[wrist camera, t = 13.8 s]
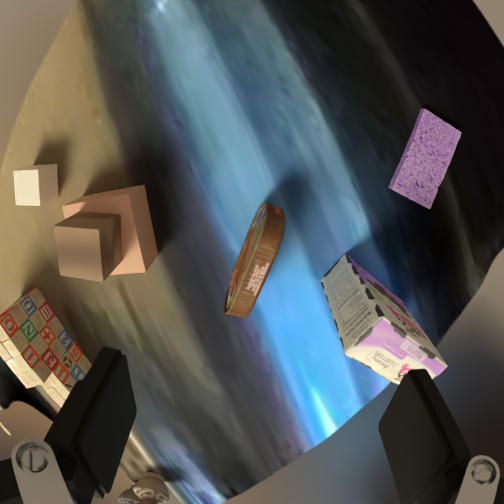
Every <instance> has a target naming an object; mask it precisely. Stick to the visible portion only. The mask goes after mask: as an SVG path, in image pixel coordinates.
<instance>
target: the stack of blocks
mask: <svg viewBox="0 0 504 504" xmlns="http://www.w3.org/2000/svg"><path fill="white" fill-rule="evenodd" d="M0 356H1V357H2V359H3V360H4V361H5V362H6V363H7V365H8V366H9V367H10V369H11V370H12V371H13V372H14V373H15V374H16V375H17V377H18V378H19V379H20V381H21V382H22V383H23V384H24V385H25V386H26V388H30V387H34V386H36V385H40V384H41V386H42V387H43V388H44V389H45V390H46V392H47V393H48V394H49V395H50V396H51V397H52V398H53V399H54V401H56V403H57V404H58V405H59V406H60V407H62V406H63V404H64V402H65V400H66V399H67V397H68V395H69V393H70V392H71V390H72V388H73V386H74V385H75V383H76V382H77V381H78V380H83V379H84V378H85V376H86V374H87V373H88V371H89V369H90V367H91V366H92V364H91V363H90V362H89V361H88V359H87V358H86V357H85V356H84V354H83V353H82V352H81V350H80V349H79V348H78V346H77V345H76V343H75V342H74V341H73V340H72V338H71V337H70V336H69V334H68V333H67V332H66V330H65V329H64V327H63V326H62V325H61V323H60V322H59V320H58V319H57V317H56V316H55V314H54V312H53V311H52V309H51V308H50V306H49V305H48V303H47V302H46V300H45V298H44V297H43V295H42V294H41V292H40V290H39V289H38V287H36V288H34V289H33V290H31V291H30V292H28V293H27V294H25V295H23V296H22V297H20V298H19V299H18V300H17V301H16V302H15V303H13V304H12V305H11V306H10V307H9V308H8V309H7V310H6V311H5V312H4V313H2V314H1V315H0Z"/></svg>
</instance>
